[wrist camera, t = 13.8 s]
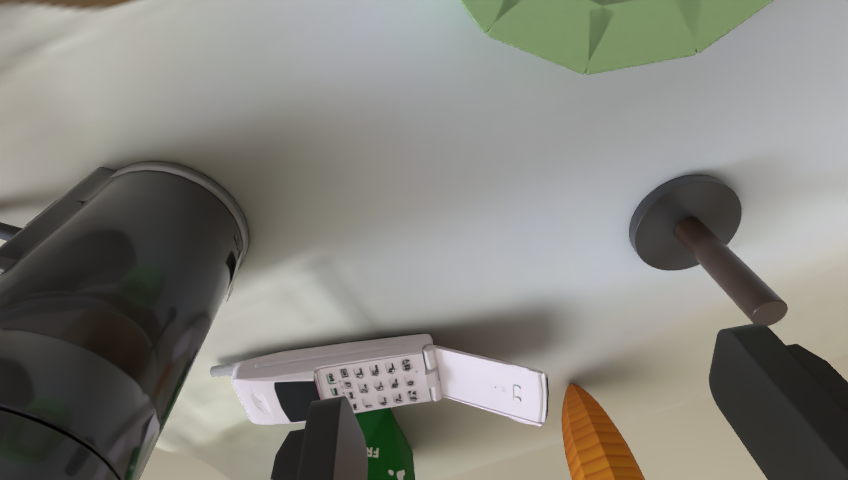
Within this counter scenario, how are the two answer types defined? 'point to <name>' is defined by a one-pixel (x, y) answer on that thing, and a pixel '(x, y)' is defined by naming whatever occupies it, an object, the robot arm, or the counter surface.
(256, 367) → the mobile phone
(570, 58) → the ring
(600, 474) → the carrot
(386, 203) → the counter surface
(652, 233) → the peg stand
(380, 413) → the milk carton
